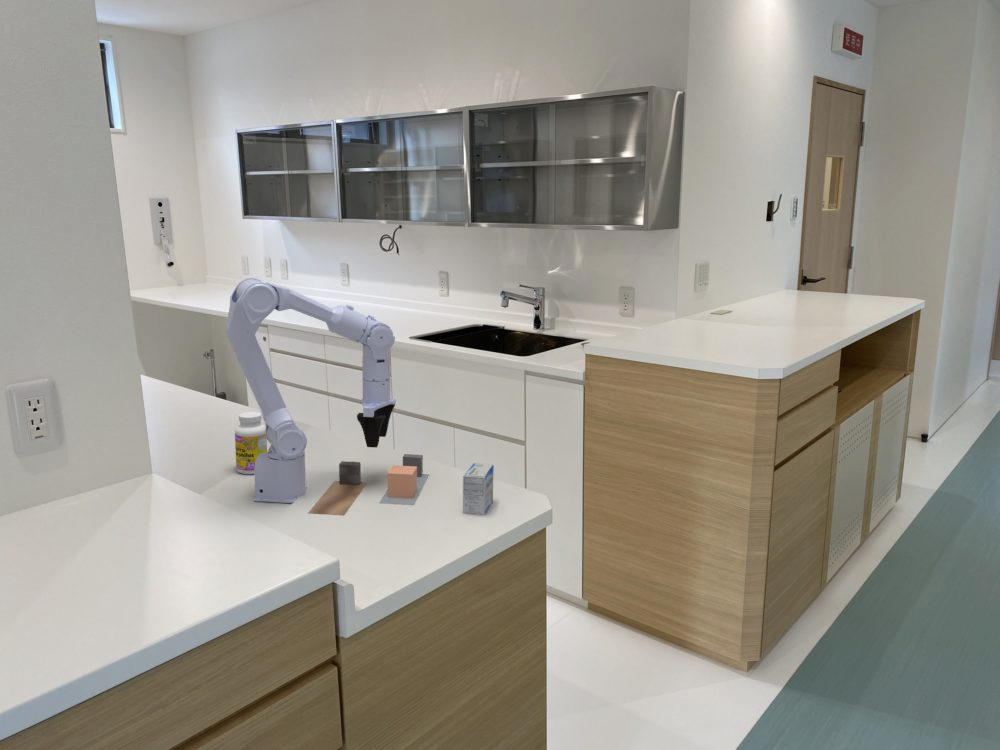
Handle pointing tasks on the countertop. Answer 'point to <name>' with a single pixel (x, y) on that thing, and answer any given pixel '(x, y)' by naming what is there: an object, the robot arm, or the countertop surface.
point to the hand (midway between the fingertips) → (376, 441)
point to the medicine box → (478, 489)
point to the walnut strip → (341, 491)
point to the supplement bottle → (249, 441)
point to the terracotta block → (402, 481)
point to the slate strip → (421, 479)
